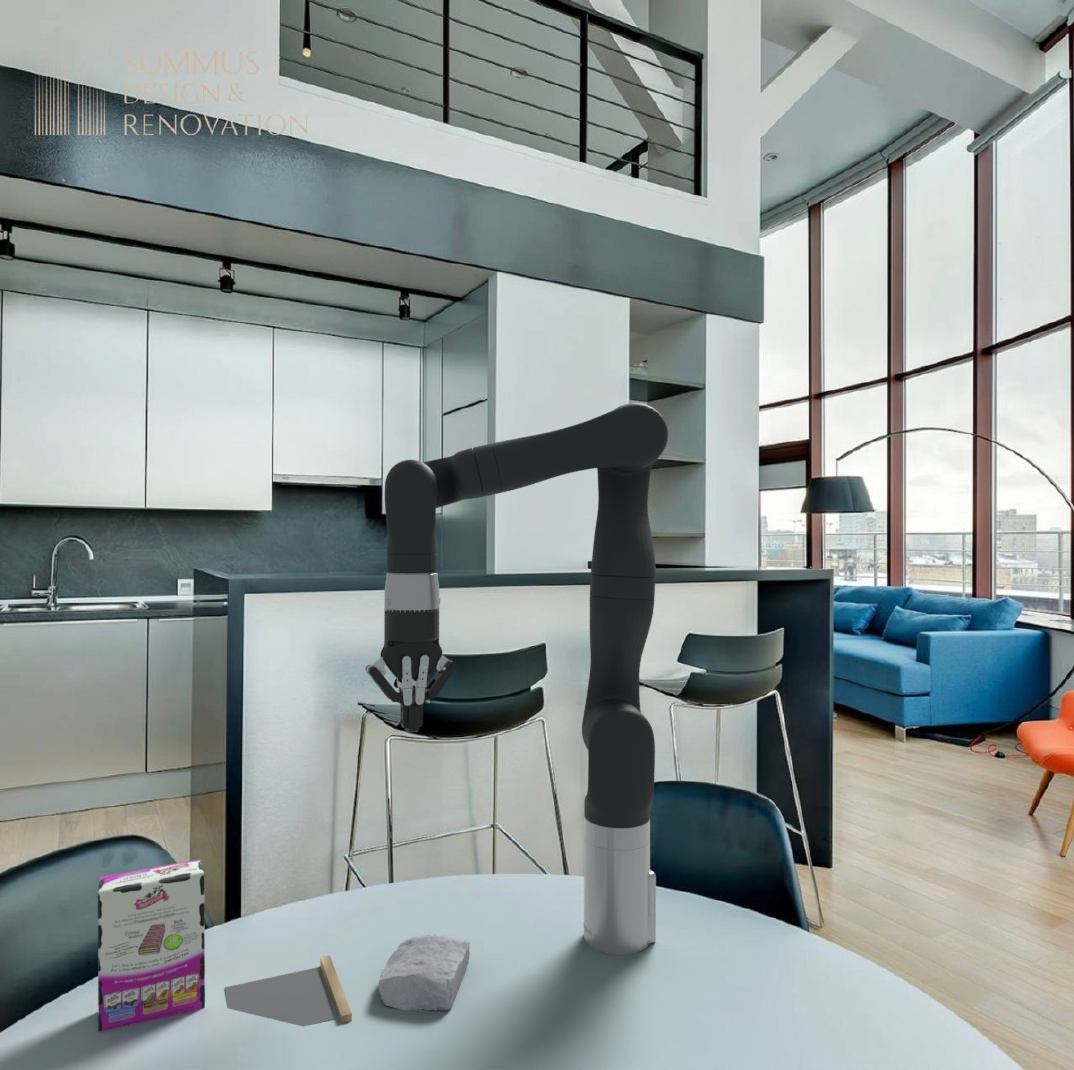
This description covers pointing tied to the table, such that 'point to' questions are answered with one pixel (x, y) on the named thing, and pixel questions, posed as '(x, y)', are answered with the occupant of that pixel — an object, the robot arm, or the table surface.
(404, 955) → the stone block
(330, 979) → the strip
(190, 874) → the candy bar box
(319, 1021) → the mat
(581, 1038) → the table surface
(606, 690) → the robot arm
